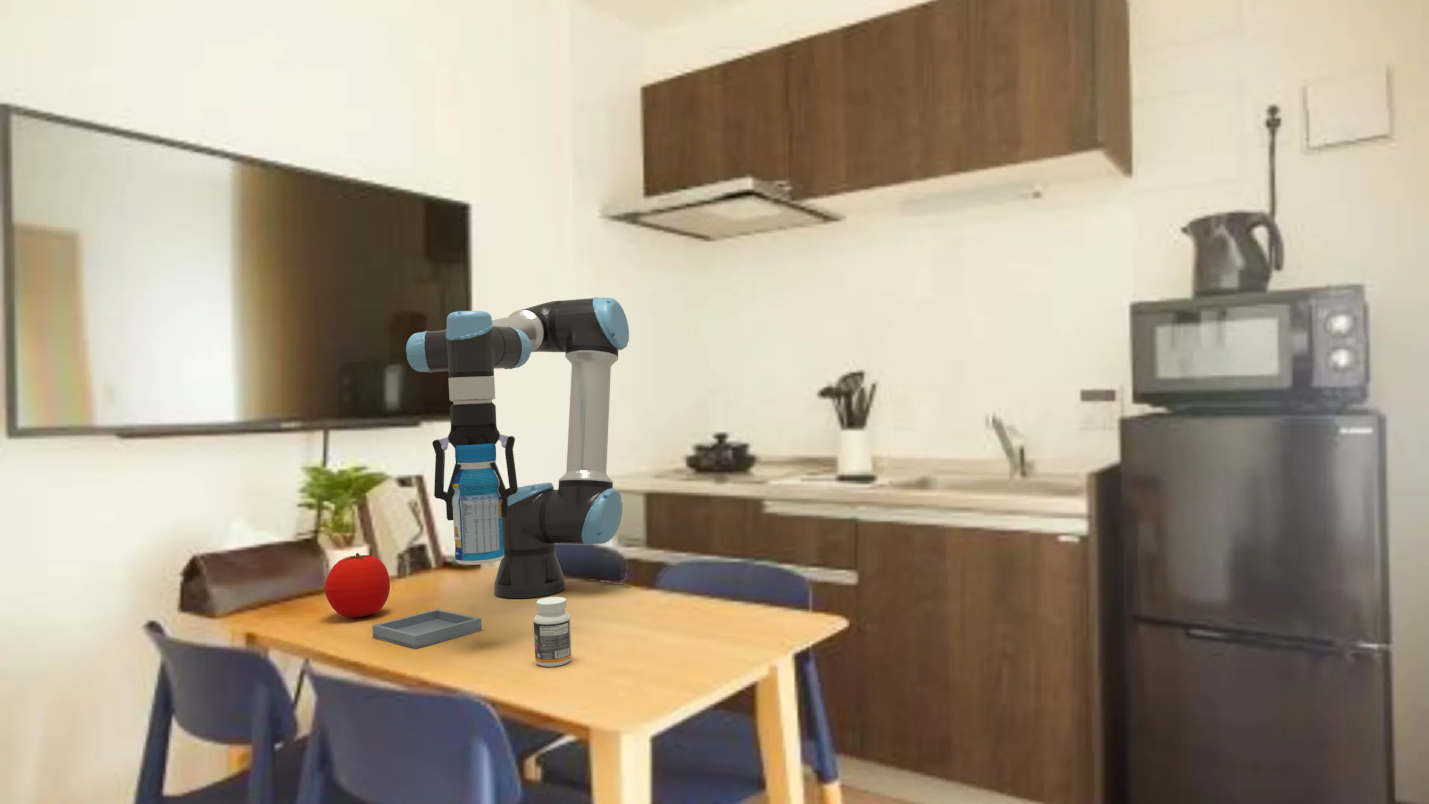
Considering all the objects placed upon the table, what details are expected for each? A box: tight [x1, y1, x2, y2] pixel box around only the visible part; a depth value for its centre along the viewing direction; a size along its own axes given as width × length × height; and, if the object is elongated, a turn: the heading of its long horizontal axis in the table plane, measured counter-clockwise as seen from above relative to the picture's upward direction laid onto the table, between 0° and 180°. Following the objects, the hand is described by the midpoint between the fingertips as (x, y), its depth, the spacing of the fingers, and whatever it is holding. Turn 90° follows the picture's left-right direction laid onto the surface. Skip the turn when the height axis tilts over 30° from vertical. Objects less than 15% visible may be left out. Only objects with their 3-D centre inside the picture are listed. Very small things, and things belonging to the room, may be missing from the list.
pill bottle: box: [533, 596, 572, 668], centre depth 139 cm, size 6×6×10 cm
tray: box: [372, 608, 483, 650], centre depth 159 cm, size 14×14×2 cm
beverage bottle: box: [452, 443, 504, 566], centre depth 149 cm, size 8×8×20 cm
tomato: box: [324, 552, 391, 619], centre depth 174 cm, size 12×12×13 cm
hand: (478, 537), depth 149 cm, fingers closed on beverage bottle, 6 cm apart
